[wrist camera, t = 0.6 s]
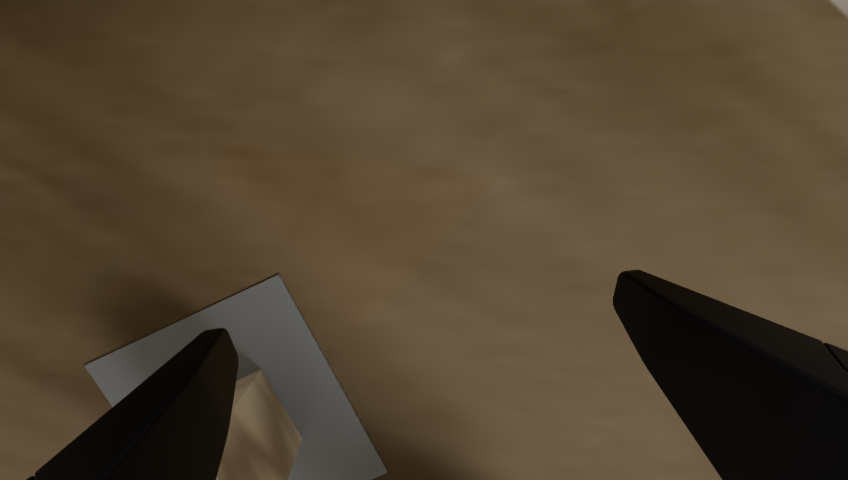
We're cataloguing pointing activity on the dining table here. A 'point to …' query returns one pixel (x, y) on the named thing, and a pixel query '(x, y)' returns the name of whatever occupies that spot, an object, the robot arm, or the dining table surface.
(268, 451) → the maple block
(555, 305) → the dining table surface
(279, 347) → the slate gray tile
